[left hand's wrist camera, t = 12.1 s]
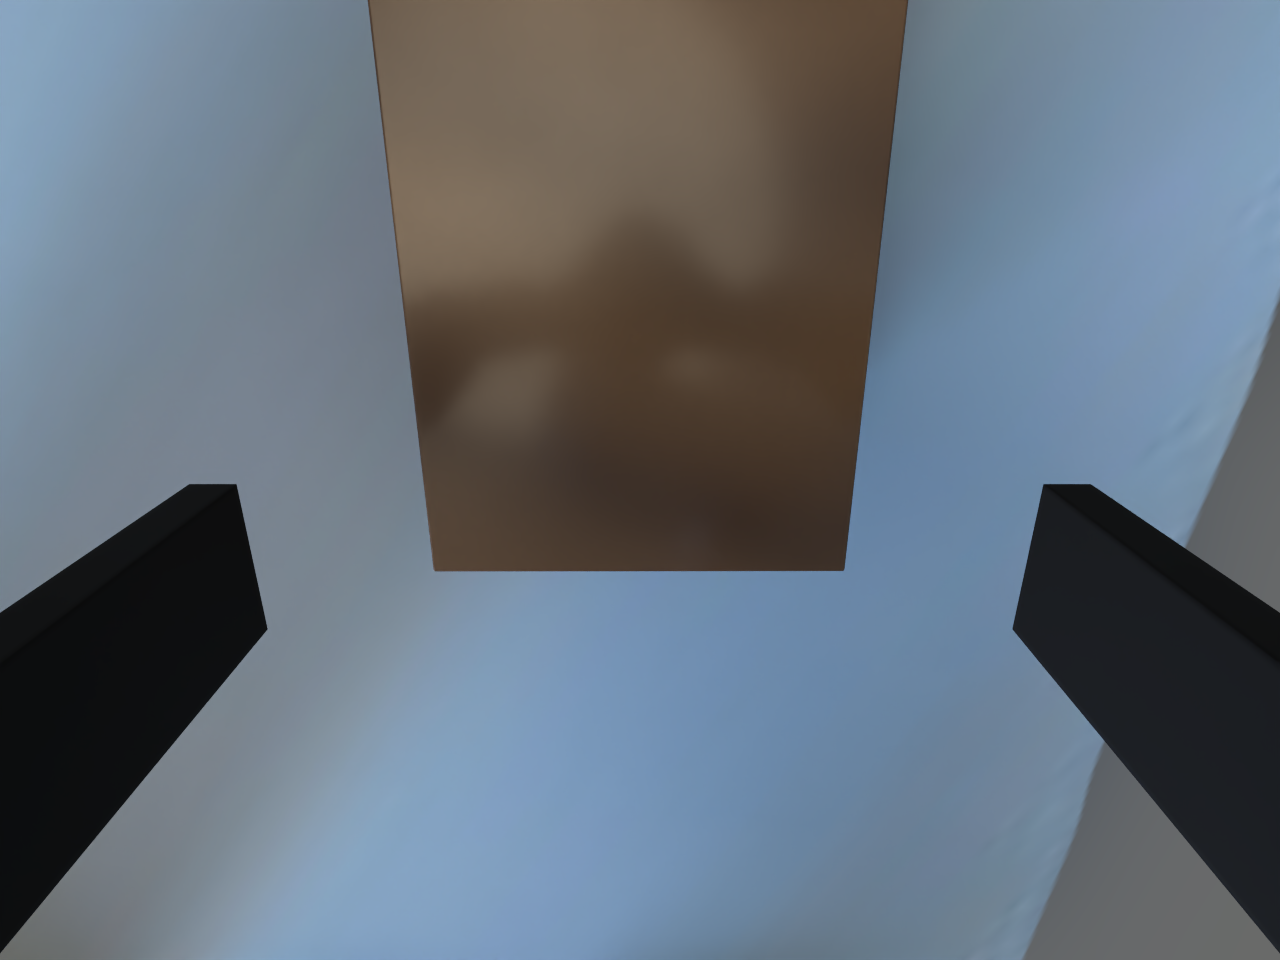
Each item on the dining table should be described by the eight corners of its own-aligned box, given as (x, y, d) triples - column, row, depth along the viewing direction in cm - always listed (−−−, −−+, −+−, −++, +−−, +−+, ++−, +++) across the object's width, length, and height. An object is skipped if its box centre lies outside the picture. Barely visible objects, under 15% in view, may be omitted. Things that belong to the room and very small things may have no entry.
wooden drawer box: (455, -249, 22) (294, -623, 12) (820, -249, 22) (979, -625, 12) (504, 436, 30) (433, 572, 19) (774, 436, 30) (844, 571, 19)
